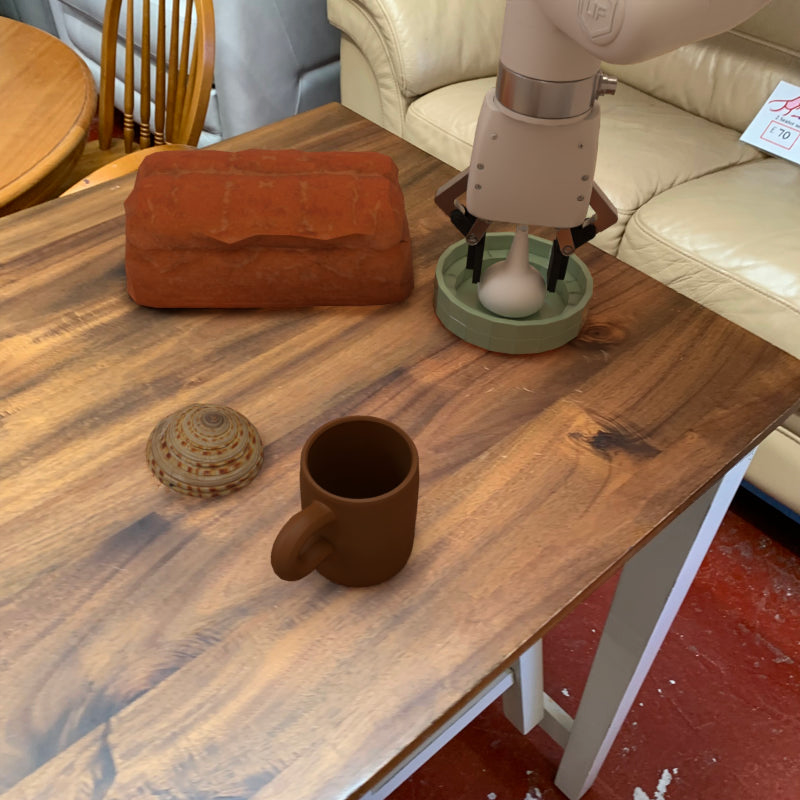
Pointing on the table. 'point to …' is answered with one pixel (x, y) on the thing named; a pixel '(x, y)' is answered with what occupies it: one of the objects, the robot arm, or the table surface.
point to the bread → (267, 230)
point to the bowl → (511, 334)
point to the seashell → (205, 451)
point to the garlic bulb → (513, 282)
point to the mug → (352, 505)
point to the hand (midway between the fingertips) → (513, 277)
